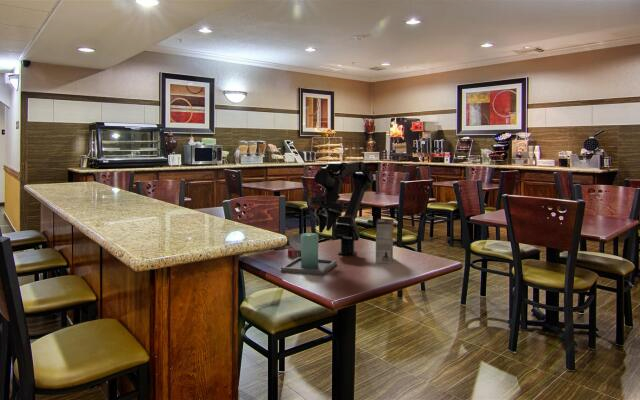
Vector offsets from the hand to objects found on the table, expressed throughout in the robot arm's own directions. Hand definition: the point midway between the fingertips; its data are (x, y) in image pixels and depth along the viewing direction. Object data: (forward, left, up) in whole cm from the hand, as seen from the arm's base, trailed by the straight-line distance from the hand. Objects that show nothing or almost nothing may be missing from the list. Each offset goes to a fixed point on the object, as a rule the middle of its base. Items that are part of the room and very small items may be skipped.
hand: (324, 231), depth 176 cm
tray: (+7, -3, -13) cm, 15 cm away
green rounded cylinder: (+7, -3, -12) cm, 14 cm away
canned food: (-10, -14, -13) cm, 22 cm away
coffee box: (-13, +21, -13) cm, 28 cm away
